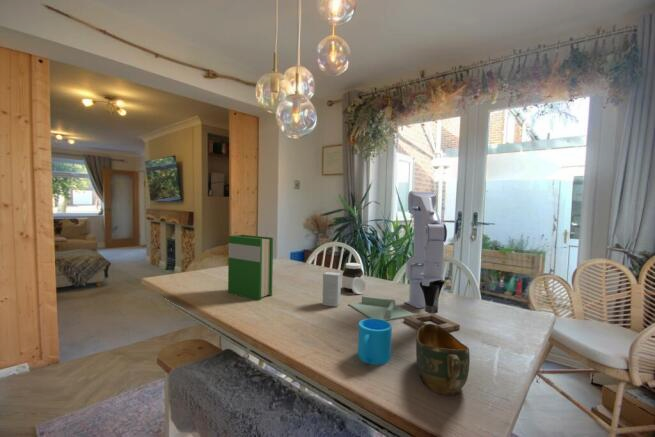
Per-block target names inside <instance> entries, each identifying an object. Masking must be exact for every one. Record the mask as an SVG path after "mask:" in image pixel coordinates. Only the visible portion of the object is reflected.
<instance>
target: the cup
mask: <svg viewBox="0 0 655 437" xmlns="http://www.w3.org/2000/svg"><path fill="white" fill-rule="evenodd" d="M437 325H438V324H433V323H425V325H422V326H421V327H420V328H419V329H417V332H416V334H415V335H416V337H415V339H416V340H415V342H416V343H415V344H416V345H415V348H416V349H415V356H416V363H417V364H416V365H417V368H418V372H419V377H420V378H421V379H420V380H421V381H422V383H423V384H424V385H425V386H426V387H427V388H428V389H430V390H431V391H434V392H435V393H438V394H439V395H442V396H443V395H444V396H455V395H458V394H460V392H461V389H462V388H463V387H464V386H465V384H466V383H467V380H468V377H469V372H470V361H471V360H470V359H471V356H470V348H469V347H468V346H467V345H465V344H464V343H462V342H461V341H460V340H458V339H457V338H456V337H455V336H454V335H453V334H452V333H451V332H448V331H446V330H445V329H444V328H442V327H440V326H437Z"/></svg>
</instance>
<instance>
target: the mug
mask: <svg viewBox="0 0 655 437" xmlns="http://www.w3.org/2000/svg"><path fill="white" fill-rule="evenodd" d="M392 328H393V326H392V324H391V323H390V322H389V321H385V320H381V319H373V318H365V319H360V320H359V322H358V340H357V341H358V346H357V356H358V358H359V360H360V361H362V362H363V363H366V364H370V365H378V366H379V365H385V364H388V363H389V362H390V361H391V360H392V359H391V358H392V333H393V332H392V331H393V329H392Z"/></svg>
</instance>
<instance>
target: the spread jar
mask: <svg viewBox="0 0 655 437" xmlns="http://www.w3.org/2000/svg"><path fill="white" fill-rule="evenodd" d="M361 268H362V264H361V263H358V262H357V263H356V262H348V263H347V262H346V263H345V268H344V270H343V271H342V274H341V287H342V289H344V290H345V291H346V292H350V293H354V294H356V295H362V294H364V293H365V292H366V290H367V283H366V281H365V280H364V271H363V269H361Z"/></svg>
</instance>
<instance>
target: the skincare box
mask: <svg viewBox="0 0 655 437" xmlns="http://www.w3.org/2000/svg"><path fill="white" fill-rule="evenodd" d="M341 287H342V274H341V272H332V271H331V272H330V271H326V272H324V273H323V274H322V306H326V307H327V306H329V307H335V308H337V307H339V306H340V305H341Z"/></svg>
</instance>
